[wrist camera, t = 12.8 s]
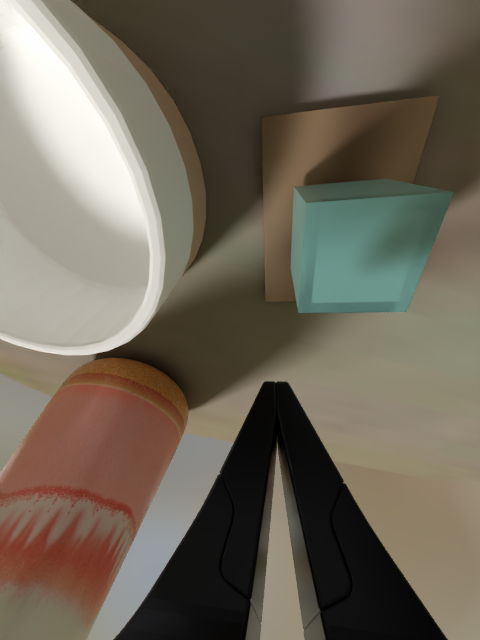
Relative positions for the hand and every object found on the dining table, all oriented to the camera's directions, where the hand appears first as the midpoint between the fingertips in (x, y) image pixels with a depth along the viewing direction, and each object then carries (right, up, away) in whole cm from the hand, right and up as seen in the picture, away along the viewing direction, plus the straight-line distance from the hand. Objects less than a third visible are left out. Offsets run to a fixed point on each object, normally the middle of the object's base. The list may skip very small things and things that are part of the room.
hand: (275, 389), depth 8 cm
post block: (+5, +9, +8) cm, 13 cm away
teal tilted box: (+5, +8, +7) cm, 12 cm away
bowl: (-12, +12, +9) cm, 19 cm away
